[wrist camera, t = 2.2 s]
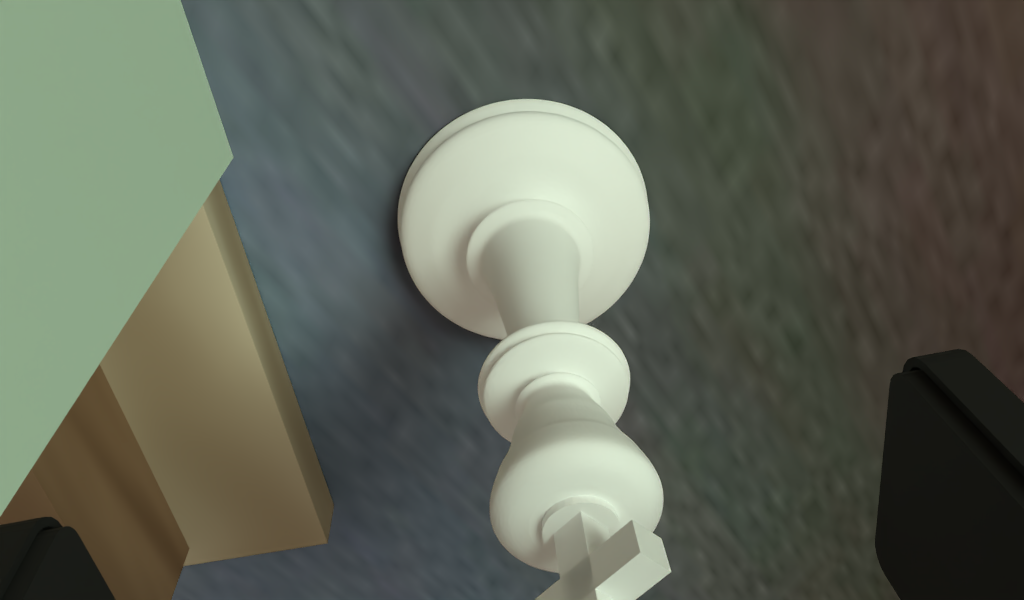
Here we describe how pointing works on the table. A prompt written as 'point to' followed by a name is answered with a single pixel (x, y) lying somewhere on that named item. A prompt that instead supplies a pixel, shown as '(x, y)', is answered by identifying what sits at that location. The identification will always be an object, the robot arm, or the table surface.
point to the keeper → (89, 192)
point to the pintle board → (184, 430)
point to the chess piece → (545, 329)
